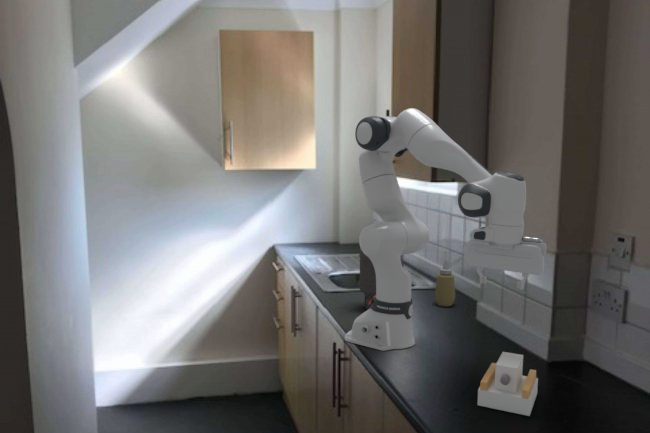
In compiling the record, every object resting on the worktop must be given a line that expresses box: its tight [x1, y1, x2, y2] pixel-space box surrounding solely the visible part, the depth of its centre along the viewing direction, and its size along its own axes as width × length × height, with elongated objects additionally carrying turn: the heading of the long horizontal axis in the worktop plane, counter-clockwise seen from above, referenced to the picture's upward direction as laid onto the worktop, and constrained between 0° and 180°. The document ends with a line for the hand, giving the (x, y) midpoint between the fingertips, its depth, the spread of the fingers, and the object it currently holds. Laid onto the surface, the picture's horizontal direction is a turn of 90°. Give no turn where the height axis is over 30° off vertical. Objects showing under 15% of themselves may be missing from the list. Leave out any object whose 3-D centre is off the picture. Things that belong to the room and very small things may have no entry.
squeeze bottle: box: [434, 259, 456, 307], centre depth 225 cm, size 8×8×18 cm
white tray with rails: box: [477, 362, 539, 417], centre depth 140 cm, size 12×14×6 cm
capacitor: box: [358, 249, 376, 311], centre depth 218 cm, size 14×14×30 cm
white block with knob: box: [495, 351, 524, 393], centre depth 140 cm, size 12×5×6 cm, turn 153°
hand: (501, 286), depth 150 cm, fingers open, 8 cm apart
